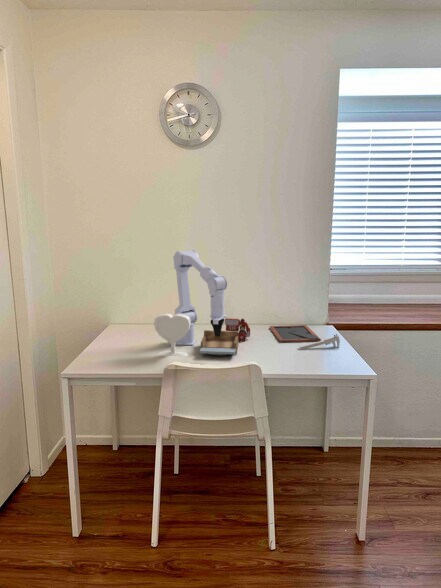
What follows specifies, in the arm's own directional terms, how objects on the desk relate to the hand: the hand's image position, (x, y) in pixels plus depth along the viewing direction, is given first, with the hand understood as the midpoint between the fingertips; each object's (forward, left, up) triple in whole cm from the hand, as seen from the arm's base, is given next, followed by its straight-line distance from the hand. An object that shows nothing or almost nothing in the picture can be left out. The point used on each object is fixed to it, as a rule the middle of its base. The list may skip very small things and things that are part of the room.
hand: (217, 336), depth 178 cm
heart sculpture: (-20, +2, -10) cm, 22 cm away
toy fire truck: (+7, +26, -10) cm, 29 cm away
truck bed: (0, +10, -9) cm, 14 cm away
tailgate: (0, +4, -7) cm, 8 cm away
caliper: (+45, +16, -10) cm, 49 cm away
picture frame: (+35, +36, -10) cm, 51 cm away
